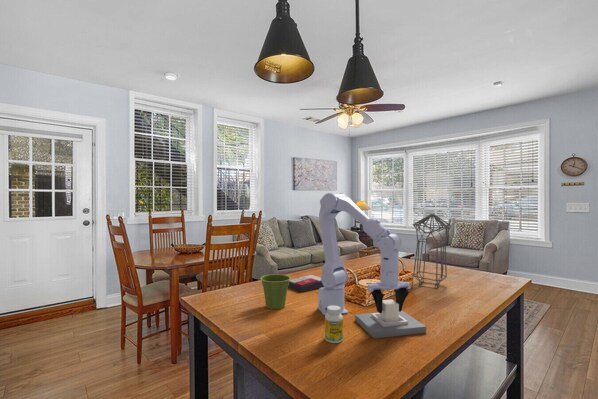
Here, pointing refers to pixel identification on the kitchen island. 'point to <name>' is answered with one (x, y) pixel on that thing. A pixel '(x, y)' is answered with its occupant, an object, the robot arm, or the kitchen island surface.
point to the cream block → (389, 311)
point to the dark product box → (306, 283)
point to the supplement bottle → (333, 324)
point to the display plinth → (389, 325)
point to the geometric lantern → (431, 242)
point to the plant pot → (275, 290)
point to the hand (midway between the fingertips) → (389, 311)
